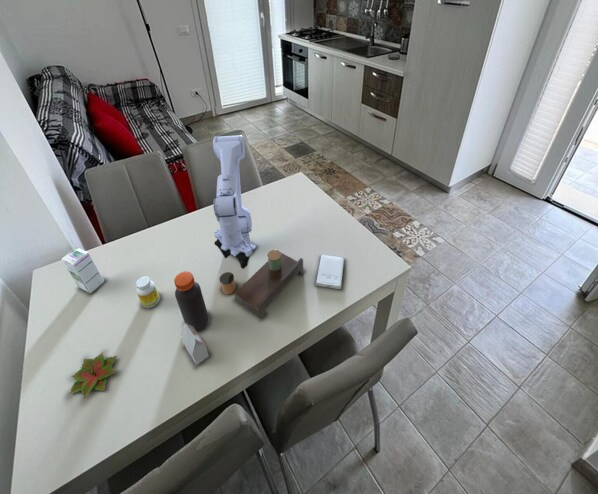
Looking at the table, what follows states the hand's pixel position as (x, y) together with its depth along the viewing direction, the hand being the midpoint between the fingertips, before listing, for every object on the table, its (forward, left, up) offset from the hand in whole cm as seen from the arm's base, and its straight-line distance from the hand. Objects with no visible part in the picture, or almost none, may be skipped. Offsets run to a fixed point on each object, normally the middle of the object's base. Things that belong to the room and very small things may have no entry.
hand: (236, 261), depth 106 cm
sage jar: (+7, +10, -7) cm, 14 cm away
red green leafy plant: (-10, -44, -11) cm, 46 cm away
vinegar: (0, -18, -11) cm, 21 cm away
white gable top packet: (+7, -24, -11) cm, 27 cm away
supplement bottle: (-18, -22, -11) cm, 30 cm away
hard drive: (+23, +21, -11) cm, 33 cm away
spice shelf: (+9, +5, -10) cm, 15 cm away
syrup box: (-40, -30, -11) cm, 51 cm away
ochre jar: (-1, -4, -10) cm, 11 cm away
